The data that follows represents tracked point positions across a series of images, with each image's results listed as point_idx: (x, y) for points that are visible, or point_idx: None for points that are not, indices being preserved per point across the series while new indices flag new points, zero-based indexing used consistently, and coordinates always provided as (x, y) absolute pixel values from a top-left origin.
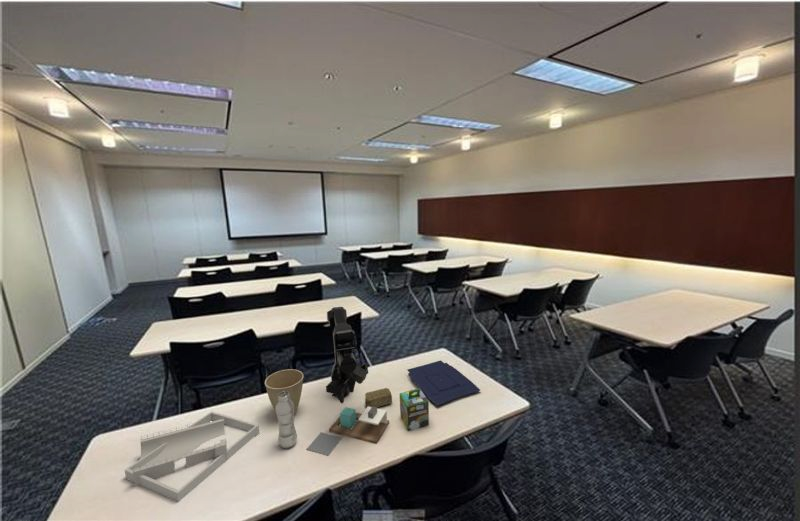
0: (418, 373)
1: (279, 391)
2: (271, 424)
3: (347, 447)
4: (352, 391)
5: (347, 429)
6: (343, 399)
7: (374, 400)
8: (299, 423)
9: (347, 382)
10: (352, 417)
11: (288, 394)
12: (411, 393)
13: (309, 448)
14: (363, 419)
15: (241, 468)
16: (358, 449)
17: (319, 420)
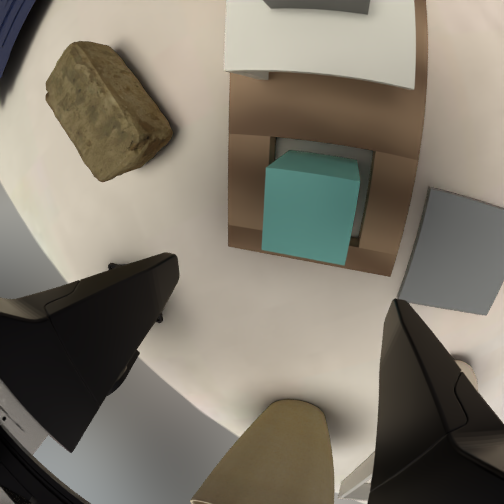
0: None
1: None
2: (351, 428)
3: (474, 139)
4: (170, 261)
5: (383, 174)
6: (416, 328)
7: (126, 104)
8: (341, 380)
9: (120, 373)
10: (323, 167)
11: None
12: None
13: (485, 306)
14: (405, 44)
15: (497, 411)
16: (473, 79)
17: (314, 328)
